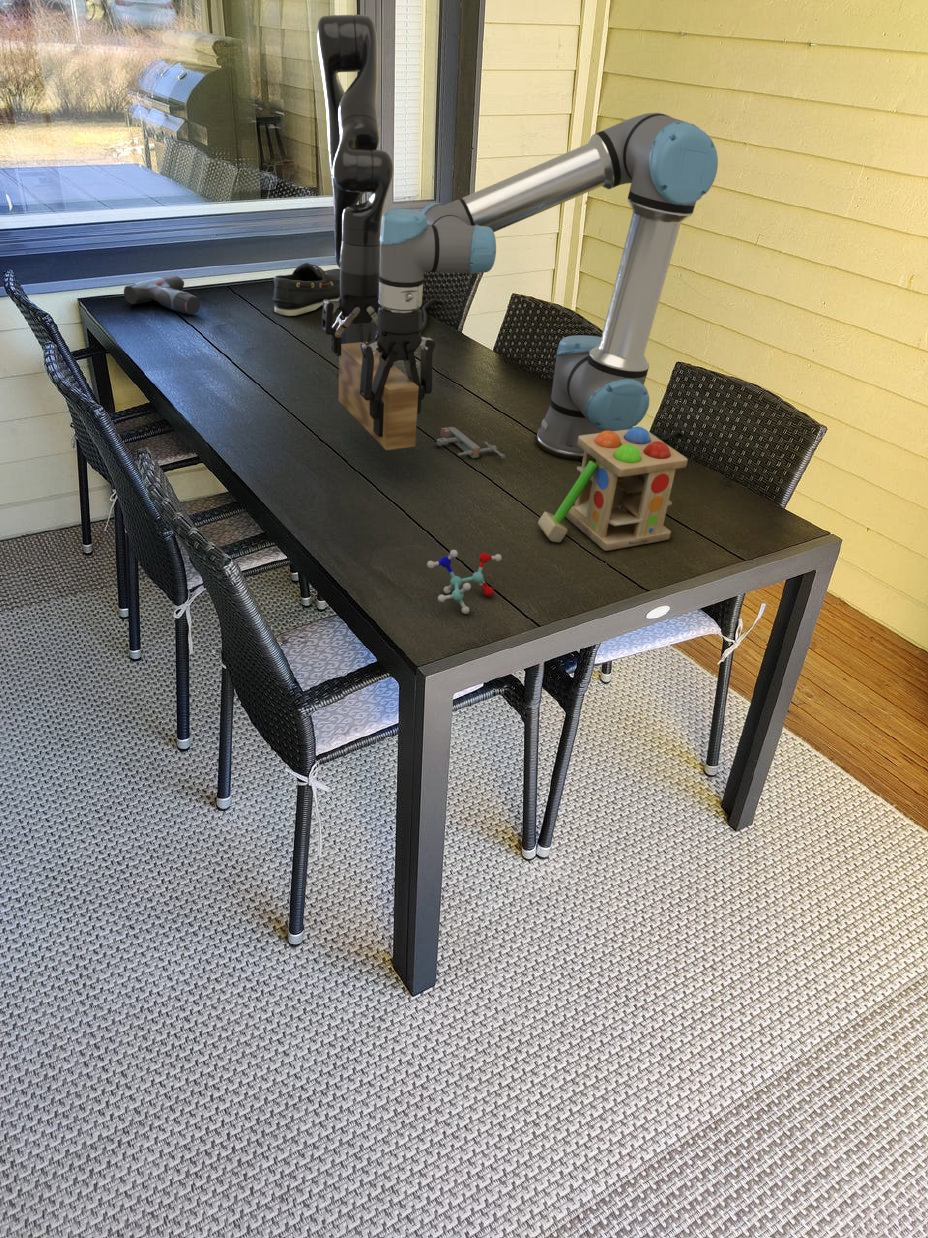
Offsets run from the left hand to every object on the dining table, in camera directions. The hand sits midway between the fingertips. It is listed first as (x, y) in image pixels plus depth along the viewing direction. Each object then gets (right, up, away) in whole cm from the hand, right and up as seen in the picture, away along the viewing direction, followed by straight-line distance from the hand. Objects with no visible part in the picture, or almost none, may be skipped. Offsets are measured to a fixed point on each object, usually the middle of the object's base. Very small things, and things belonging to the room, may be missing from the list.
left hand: (358, 353), depth 190 cm
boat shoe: (-22, +38, +87) cm, 97 cm away
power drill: (-57, +33, +74) cm, 99 cm away
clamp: (+21, -17, +12) cm, 30 cm away
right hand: (+8, -17, -8) cm, 20 cm away
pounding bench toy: (+45, -35, -11) cm, 58 cm away
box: (+3, -14, 0) cm, 14 cm away
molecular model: (+20, -48, -34) cm, 62 cm away
